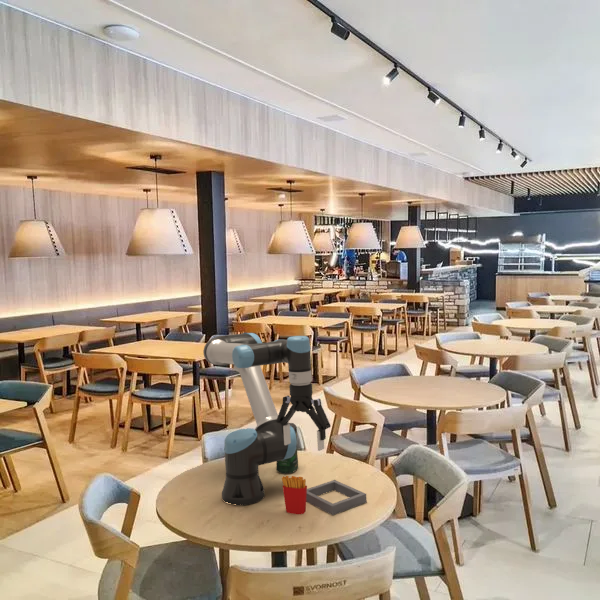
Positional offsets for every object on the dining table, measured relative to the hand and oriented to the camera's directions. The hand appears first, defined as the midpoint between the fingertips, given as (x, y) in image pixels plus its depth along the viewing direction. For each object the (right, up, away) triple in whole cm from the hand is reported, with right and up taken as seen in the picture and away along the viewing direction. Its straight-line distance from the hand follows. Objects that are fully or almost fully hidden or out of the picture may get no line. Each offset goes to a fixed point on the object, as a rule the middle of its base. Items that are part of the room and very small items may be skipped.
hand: (304, 446), depth 192 cm
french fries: (-3, -22, +1) cm, 22 cm away
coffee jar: (-6, -20, +40) cm, 45 cm away
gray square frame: (+10, -21, +8) cm, 25 cm away
